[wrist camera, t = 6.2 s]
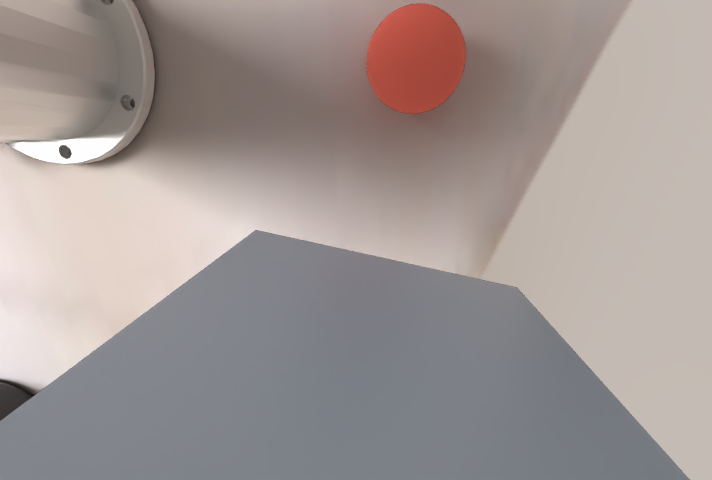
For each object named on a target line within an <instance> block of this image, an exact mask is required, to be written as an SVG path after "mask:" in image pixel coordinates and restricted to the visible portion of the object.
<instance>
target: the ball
mask: <svg viewBox="0 0 712 480" xmlns="http://www.w3.org/2000/svg"><path fill="white" fill-rule="evenodd" d="M465 59H466V49H465V42H464V38H463V35H462V32H461V30H460V28H459V26H458V25H457V23H456V22H455V21H454V19H453V18H452V17H451V16H450V15H449V14H448V13H446V12H445V11H444V10H442V9H440V8H438V7H436V6H433V5H429V4H410V5H407V6H404V7H401V8H399V9H397V10H396V11H394V12H392V13H391V14H390V15H388V16H387V17H386V18H385V19H384V20H383V21H382V22H381V24H380V25H379V26H378V28H377V29H376V31H375V32H374V34H373V36H372V39H371V41H370V44H369V48H368V53H367V73H368V78H369V81H370V84H371V86H372V88H373V90H374V92H375V93H376V95H377V96H378V97H379V99H380V100H381V101H382V102H383V103H384V104H386V105H387V106H389V107H390V108H392V109H394V110H396V111H399V112H403V113H410V114H416V113H422V112H426V111H429V110H432V109H434V108H435V107H437V106H439V105H440V104H442V103H443V102H444V101H445V100H446V99H447V98H448V97H449V96H450V95H451V94H452V93H453V92H454V90H455V89H456V87H457V85H458V84H459V82H460V80H461V77H462V74H463V71H464V67H465Z"/></svg>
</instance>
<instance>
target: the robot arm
mask: <svg viewBox="0 0 712 480" xmlns="http://www.w3.org/2000/svg"><path fill="white" fill-rule="evenodd" d="M154 82H155V71H154V60H153V52H152V48H151V44H150V40H149V36H148V33H147V30H146V27H145V25H144V23H143V20H142V18H141V16H140V13H139V11H138V9H137V7H136V6H135V4H134V2H133V1H132V0H0V143H6V144H8V145H9V146H10V147H12V148H14V149H16V150H18V151H20V152H21V153H23V154H25V155H27V156H29V157H32V158H35V159H38V160H41V161H45V162H48V163H56V164H63V165H70V164H85V163H91V162H96V161H101V160H103V159H106V158H108V157H110V156H113V155H115V154H117V153H118V152H119V151H121V150H122V149H123V148H125V147H126V146H127V145H129V144H130V142H131V141H132V140H133V139H134V138H135V136H136V135H137V134H138V133H139V132H140V130H141V128H142V126H143V124H144V122H145V120H146V118H147V116H148V114H149V110H150V107H151V103H152V99H153V94H154Z"/></svg>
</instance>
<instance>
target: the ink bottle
mask: <svg viewBox="0 0 712 480" xmlns="http://www.w3.org/2000/svg"><path fill="white" fill-rule="evenodd" d="M32 397H33V396H31V395H30V394H28V393H27V392H25V391H23V390H21V389H19V388H17V387H15V386H12V385H9V384H6V383H3V382H0V421H1V420H2V419H4V418H5V417H6V416H8V415H9V414H10V413H12V412H13V411H14V410H16V409H17V408H18V407H20V406H21V405H22V404H24V403H25V402H26V401H28V400H29V399H30V398H32Z"/></svg>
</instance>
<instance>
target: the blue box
mask: <svg viewBox="0 0 712 480" xmlns="http://www.w3.org/2000/svg"><path fill="white" fill-rule="evenodd" d="M0 480H690V479H689V478H688V477H687V476H686V475H685V474H684V473H683V472H682V470H681V469H680V468H679V467H678V466H677V465H676V464H675V463H674V461H673V460H672V459H671V458H670V457H669V456H668V455H667V454H666V453H665V451H664V450H663V449H662V448H661V447H660V446H659V445H658V444H657V443H656V442H655V440H654V439H653V438H652V437H651V436H650V435H649V434H648V433H647V431H646V430H645V429H644V428H643V427H642V426H641V425H640V424H639V423H638V422H637V420H636V419H635V418H634V417H633V416H632V415H631V414H630V413H629V411H628V410H627V409H626V408H625V407H624V406H623V405H622V404H621V403H620V401H619V400H618V399H617V398H616V397H615V396H614V395H613V394H612V392H610V390H609V389H608V388H607V387H606V386H605V385H604V384H603V382H602V381H601V380H600V379H599V378H598V377H597V376H596V375H595V374H594V373H593V372H592V370H591V369H590V368H589V367H588V366H587V365H586V364H585V362H584V361H583V360H582V359H581V358H580V357H579V356H578V355H577V354H576V352H575V351H574V350H573V349H572V348H571V347H570V346H569V345H568V344H567V343H566V341H565V340H564V339H563V338H562V337H561V336H560V335H559V334H558V332H557V331H556V330H555V329H554V328H553V327H552V326H551V325H550V324H549V322H548V321H547V320H546V319H545V318H544V317H543V316H542V315H541V314H540V312H538V310H537V309H536V308H535V307H534V306H533V305H532V303H531V302H530V301H529V300H528V299H527V298H526V297H525V296H524V295H523V293H522V292H520V290H519V289H518V288H517V287H513V286H508V285H504V284H499V283H494V282H490V281H485V280H481V279H476V278H472V277H467V276H463V275H458V274H454V273H449V272H445V271H440V270H435V269H431V268H426V267H422V266H417V265H413V264H408V263H404V262H399V261H395V260H390V259H386V258H381V257H376V256H372V255H367V254H363V253H358V252H354V251H349V250H345V249H340V248H336V247H331V246H327V245H322V244H318V243H313V242H308V241H304V240H299V239H295V238H290V237H286V236H281V235H277V234H272V233H268V232H263V231H259V230H255V231H254V232H253V233H251V234H250V235H249V236H247V237H246V238H245V239H243V240H242V241H240V242H239V243H238V244H236V245H235V246H234V247H232V248H231V249H230V250H228V251H227V252H226V253H224V254H223V255H222V256H220V257H219V258H218V259H216V260H215V261H214V262H212V263H211V264H210V265H208V266H207V267H206V268H204V269H203V270H202V271H200V272H199V273H198V274H196V275H195V276H194V277H192V278H191V279H190V280H188V281H187V282H186V283H184V284H183V285H182V286H180V287H179V288H178V289H176V290H175V291H174V292H172V293H171V294H170V295H168V296H167V297H166V298H164V299H163V300H162V301H160V302H159V303H158V304H156V305H155V306H154V307H152V308H151V309H150V310H148V311H147V312H145V313H144V314H143V315H141V316H140V317H139V318H137V319H136V320H135V321H133V322H132V323H131V324H129V325H128V326H127V327H125V328H124V329H123V330H121V331H120V332H119V333H117V334H116V335H115V336H113V337H112V338H111V339H109V340H108V341H107V342H105V343H104V344H103V345H101V346H100V347H99V348H97V349H96V350H95V351H93V352H92V353H91V354H89V355H88V356H87V357H85V358H84V359H83V360H81V361H80V362H79V363H77V364H76V365H75V366H73V367H72V368H71V369H69V370H68V371H67V372H65V373H64V374H63V375H61V376H60V377H59V378H57V379H56V380H55V381H53V382H52V383H51V384H49V385H48V386H46V387H45V388H44V389H42V390H41V391H40V392H38V393H37V394H36V395H34V396H33V397H32V398H30V399H29V400H28V401H26V402H25V403H24V404H22V405H21V406H20V407H18V408H17V409H16V410H14V411H13V412H12V413H10V414H9V415H8V416H6V417H5V418H4V419H2V420H1V421H0Z"/></svg>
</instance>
